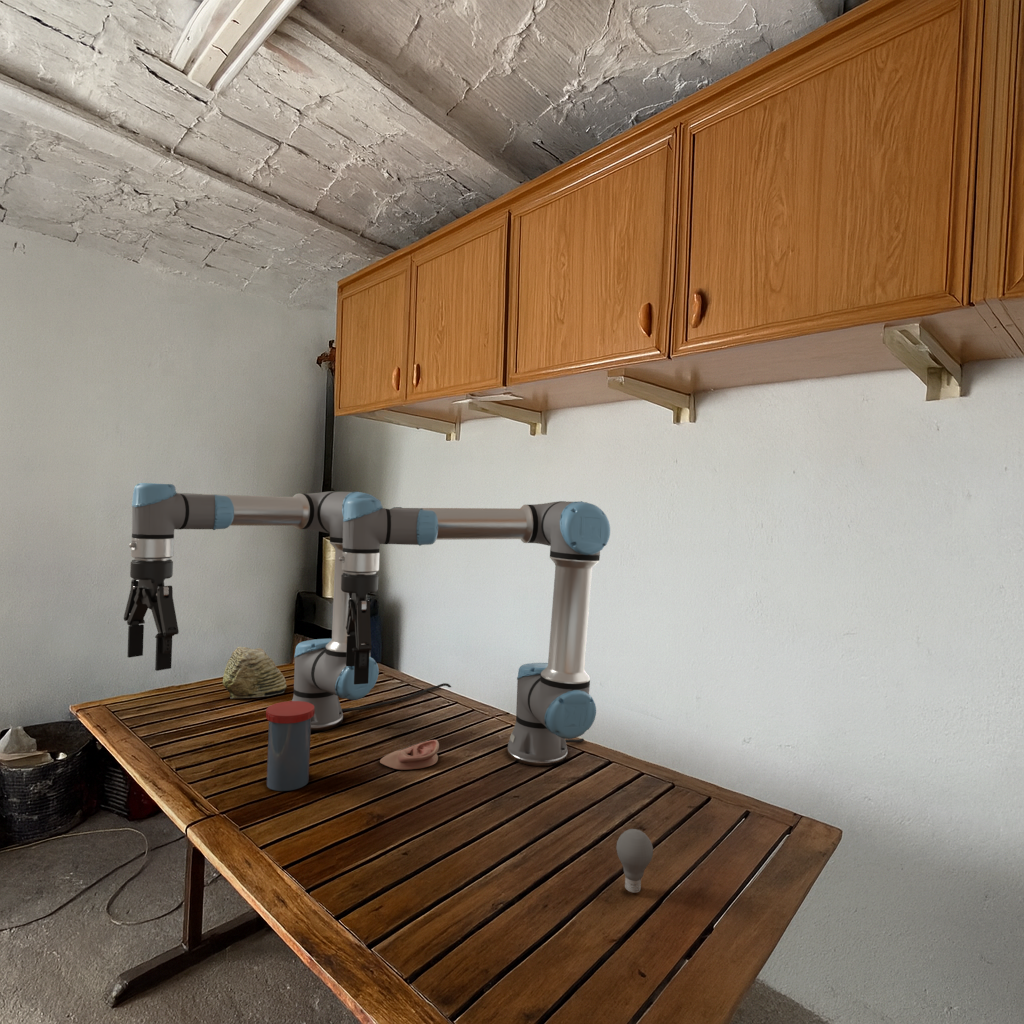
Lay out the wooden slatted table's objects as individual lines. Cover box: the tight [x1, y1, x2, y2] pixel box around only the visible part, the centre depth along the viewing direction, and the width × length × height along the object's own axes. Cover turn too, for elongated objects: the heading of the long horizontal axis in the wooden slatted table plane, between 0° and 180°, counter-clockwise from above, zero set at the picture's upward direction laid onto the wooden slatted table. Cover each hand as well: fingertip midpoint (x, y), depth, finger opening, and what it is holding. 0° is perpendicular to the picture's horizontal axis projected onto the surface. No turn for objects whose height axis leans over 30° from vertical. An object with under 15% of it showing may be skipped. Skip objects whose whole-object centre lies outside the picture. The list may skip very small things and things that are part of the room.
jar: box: [265, 718, 312, 792], centre depth 140 cm, size 9×9×16 cm
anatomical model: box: [379, 739, 440, 771], centre depth 154 cm, size 13×4×12 cm
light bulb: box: [615, 828, 654, 894], centre depth 106 cm, size 6×6×10 cm
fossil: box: [222, 646, 288, 699], centre depth 198 cm, size 9×18×15 cm, turn 132°
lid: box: [265, 700, 315, 723], centre depth 140 cm, size 10×10×2 cm
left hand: (148, 662), depth 129 cm, fingers open, 13 cm apart
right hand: (356, 674), depth 132 cm, fingers open, 13 cm apart
